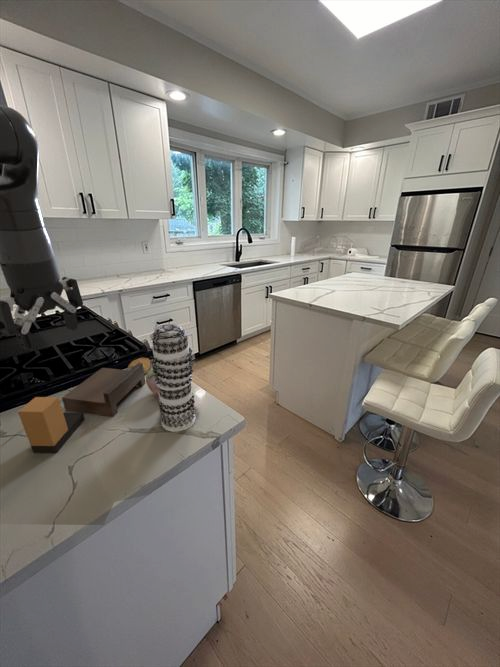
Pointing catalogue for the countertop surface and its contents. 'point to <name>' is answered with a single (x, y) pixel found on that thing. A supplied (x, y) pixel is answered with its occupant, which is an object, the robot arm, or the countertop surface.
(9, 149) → the robot arm
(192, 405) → the decorative candle
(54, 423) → the two-tone stepped block
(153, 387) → the decorative fruit
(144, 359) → the pastry
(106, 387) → the dark wooden riser stand
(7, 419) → the countertop surface
